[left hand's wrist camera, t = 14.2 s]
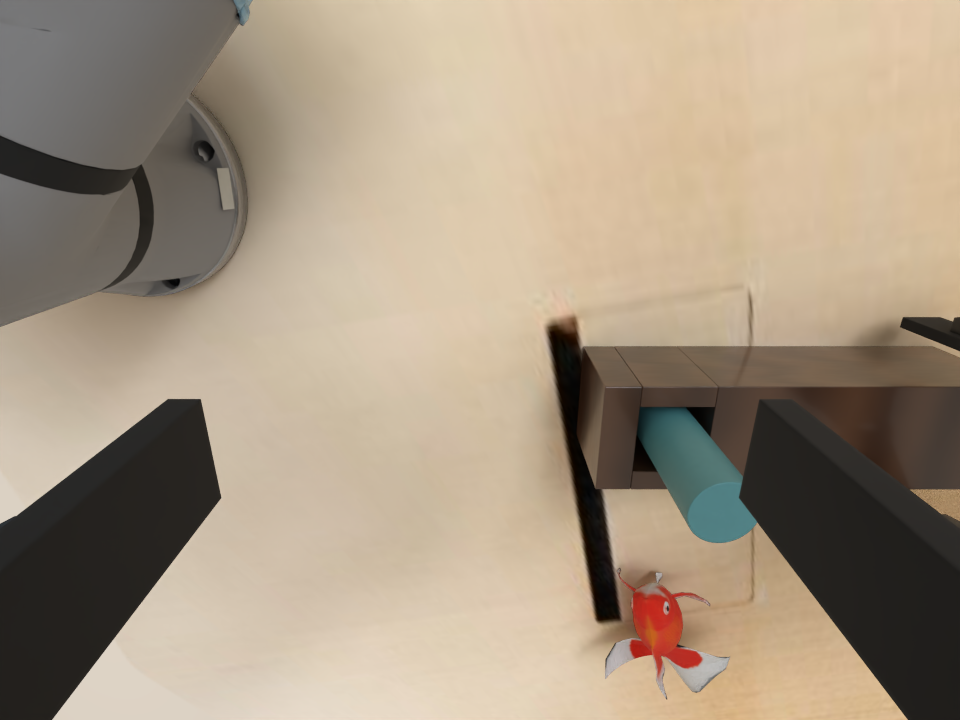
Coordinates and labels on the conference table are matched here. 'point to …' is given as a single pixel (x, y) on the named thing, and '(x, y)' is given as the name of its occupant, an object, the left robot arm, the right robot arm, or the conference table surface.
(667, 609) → the fish
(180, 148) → the left robot arm
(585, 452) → the walnut block
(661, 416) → the teal peg
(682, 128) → the conference table surface
